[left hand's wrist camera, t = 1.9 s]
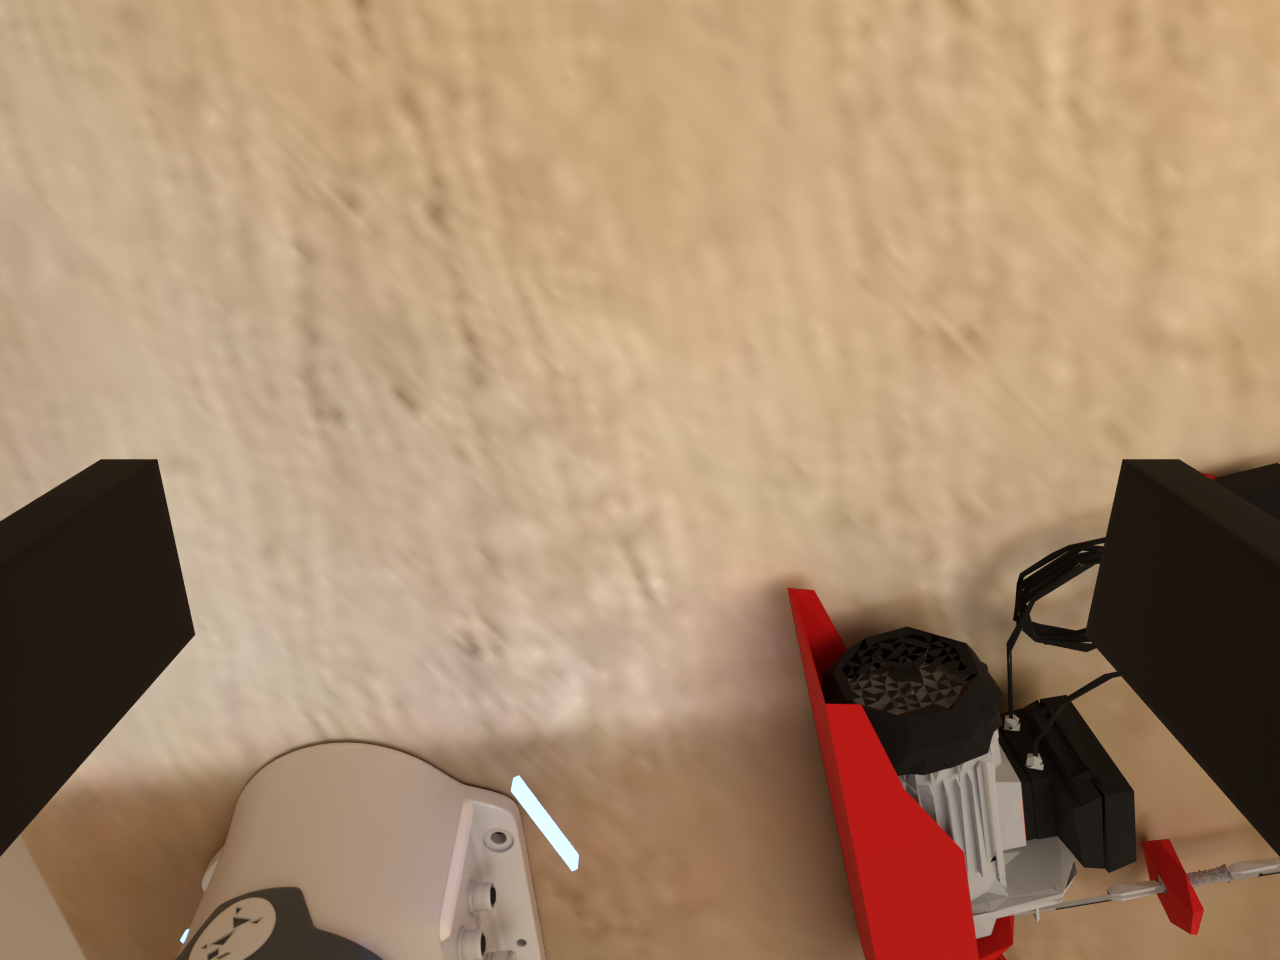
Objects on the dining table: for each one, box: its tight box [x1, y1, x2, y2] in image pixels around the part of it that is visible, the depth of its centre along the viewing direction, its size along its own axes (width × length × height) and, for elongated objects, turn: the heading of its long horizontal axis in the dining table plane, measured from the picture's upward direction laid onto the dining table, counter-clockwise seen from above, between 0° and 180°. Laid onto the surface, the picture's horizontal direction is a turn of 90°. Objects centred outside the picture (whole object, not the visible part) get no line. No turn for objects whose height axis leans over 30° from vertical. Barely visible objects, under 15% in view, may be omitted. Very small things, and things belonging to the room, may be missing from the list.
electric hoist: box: [787, 463, 1280, 960], centre depth 43 cm, size 10×27×30 cm
